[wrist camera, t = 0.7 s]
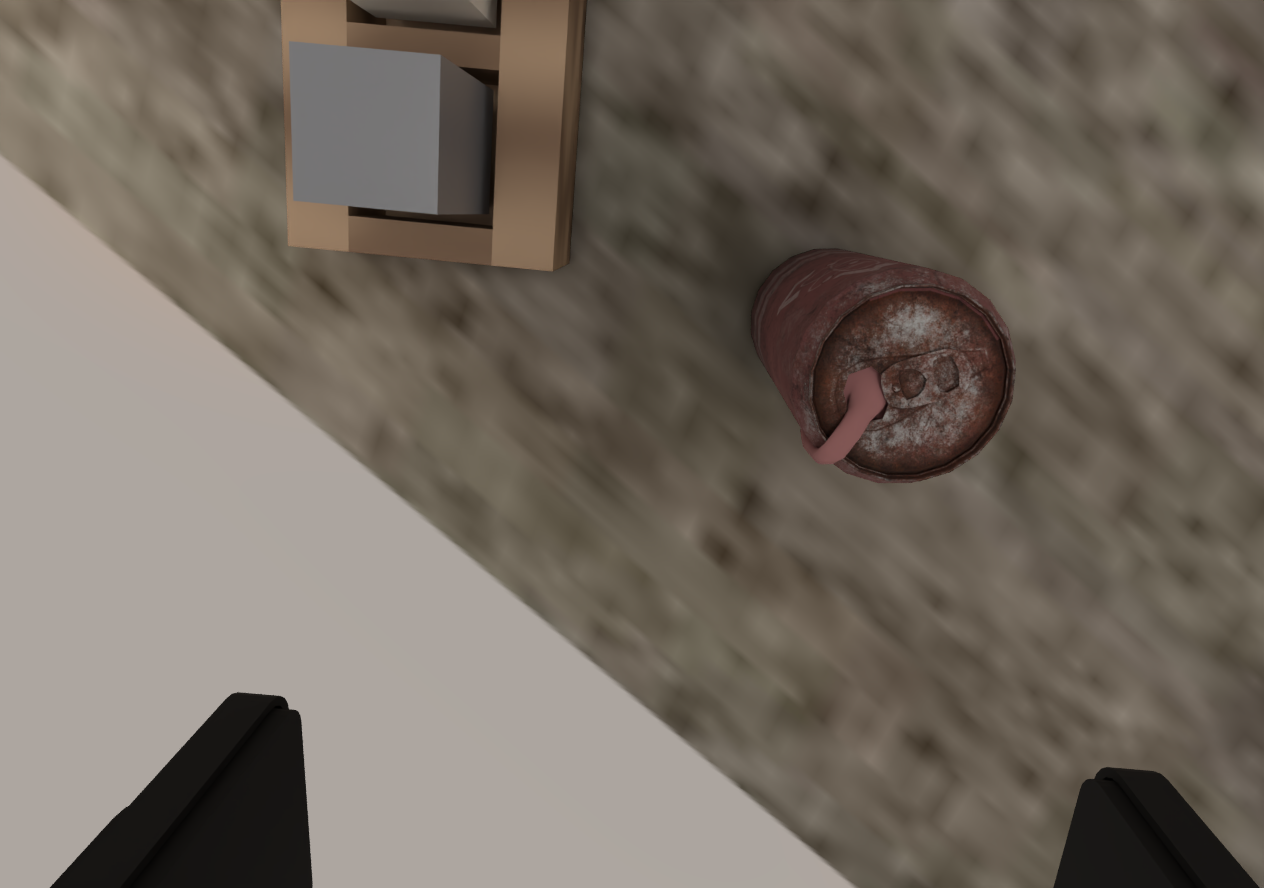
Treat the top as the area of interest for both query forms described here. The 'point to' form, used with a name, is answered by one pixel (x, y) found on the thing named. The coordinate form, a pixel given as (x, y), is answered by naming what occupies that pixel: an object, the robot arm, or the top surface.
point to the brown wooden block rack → (521, 133)
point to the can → (884, 363)
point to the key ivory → (435, 11)
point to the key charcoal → (388, 130)
